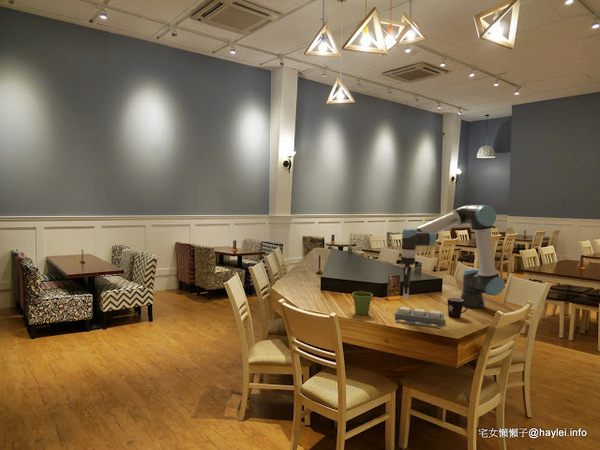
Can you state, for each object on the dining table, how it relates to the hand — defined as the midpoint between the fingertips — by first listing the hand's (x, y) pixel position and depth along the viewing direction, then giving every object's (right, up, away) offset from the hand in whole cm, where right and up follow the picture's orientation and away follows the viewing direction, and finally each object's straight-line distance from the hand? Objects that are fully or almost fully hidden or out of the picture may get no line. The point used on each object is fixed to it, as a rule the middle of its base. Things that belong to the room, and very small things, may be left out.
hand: (405, 298), depth 239 cm
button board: (+7, -11, -2) cm, 13 cm away
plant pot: (-24, -9, +5) cm, 26 cm away
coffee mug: (+29, -11, +4) cm, 31 cm away
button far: (0, -8, +1) cm, 8 cm away
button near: (+15, -9, -5) cm, 18 cm away
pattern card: (+4, -11, -11) cm, 16 cm away
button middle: (+7, -8, -2) cm, 11 cm away
